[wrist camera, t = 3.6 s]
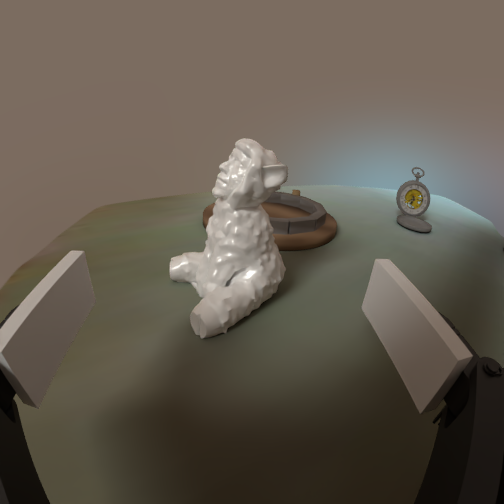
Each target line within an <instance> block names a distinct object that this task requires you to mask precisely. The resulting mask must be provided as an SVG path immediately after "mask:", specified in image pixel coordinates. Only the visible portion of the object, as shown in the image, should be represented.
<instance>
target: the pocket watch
mask: <svg viewBox="0 0 504 504" xmlns="http://www.w3.org/2000/svg"><path fill="white" fill-rule="evenodd" d="M414 169H421V168H418V167H415V168H413V169H412V173H413V174H414V172H413V170H414ZM421 170H422V169H421ZM422 171H423V170H422ZM414 175H415V177H416V181H414V180H412V181H408V182H405V183H404V184H403V185H402V186H401V187H400V188H399V190H398V192H397V198H396V199H397V204H398V207H399V209H400V210H401V211H402V212H403V213H404V214H405V215H399V216H397V221H398V223H399V224H401V225H402V226H404V227H406V228H408V229H411V230H414V231H418V232H430V231H431V229H432V226H431V225H430V224H429V223H427V222H425V221H423V220H421V219H418V218H416V217H417V216H420V215H422V214H423V213H424V212H425V211H426V210H427V208H428V207H429V204H430V194H429V191H428V189H427V188H426V186H425V185H424V184H422V183H421V182H419V181H418V180H419V178H421V177H422V176H424V171H423V175H421V176H420V175H419V172H418V173H417V174H414ZM419 195H421V197H418V196H419ZM418 198H419V199H420V198H421V199H422V200H418ZM405 199H406V200H407V201H405ZM411 200H413V201H411ZM418 201H421V203H420V204H418V203H417V202H418ZM408 202H410V203H409V204H411V205H412V206H414V207H415V208H412V206H411V208H410V207H408ZM405 203H407V205H406V204H405Z"/></svg>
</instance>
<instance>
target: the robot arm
mask: <svg viewBox="0 0 504 504" xmlns="http://www.w3.org/2000/svg"><path fill="white" fill-rule="evenodd" d="M95 303H96V300H95V296H94V292H93V288H92V284H91V280H90V275H89V271H88V266H87V262H86V257H85V252H84V251H70V252H69V253H68V254H67V255H66V256H65V257H64V258H63V259H62V260H61V261H60V262H59V263H58V264H57V265H56V266H55V267H54V268H53V269H52V270H51V271H50V272H49V273H48V274H47V275H46V276H45V278H44V279H43V280H42V281H41V282H40V283H39V284H38V285H37V286H36V287H35V288H34V289H33V291H32V292H31V293H30V294H29V295H28V296H27V297H26V298H25V300H24V301H23V302H22V303H21V304H20V305H18V306H17V307H15V308H14V309H13V310H11V312H10V313H9V314H8V315H7V316H6V318H5V320H3V321H2V322H1V324H0V504H50V502H49V500H48V498H47V496H46V494H45V491H44V489H43V487H42V484H41V482H40V479H39V477H38V474H37V472H36V469H35V466H34V464H33V461H32V458H31V455H30V452H29V449H28V446H27V442H26V439H25V436H24V432H23V428H22V425H21V421H20V417H19V412H18V408H17V404H16V402H15V401H14V399H13V398H14V396H15V394H17V395H18V396H19V398H20V399H21V400H22V402H23V403H24V404H27V405H30V406H32V407H35V408H37V409H39V407H40V405H41V402H42V400H43V398H44V396H45V394H46V392H47V390H48V387H49V385H50V383H51V381H52V379H53V377H54V375H55V373H56V371H57V369H58V368H59V366H60V364H61V362H62V360H63V358H64V356H65V354H66V353H67V351H68V349H69V347H70V345H71V343H72V342H73V340H74V338H75V336H76V335H77V333H78V331H79V329H80V328H81V326H82V324H83V323H84V321H85V319H86V318H87V316H88V314H89V313H90V311H91V309H92V308H93V306H94V305H95ZM362 310H363V312H364V313H365V315H366V317H367V318H368V320H369V322H370V323H371V325H372V327H373V328H374V330H375V332H376V334H377V335H378V337H379V339H380V340H381V342H382V344H383V346H384V347H385V349H386V351H387V353H388V355H389V356H390V358H391V360H392V362H393V364H394V365H395V367H396V369H397V371H398V373H399V375H400V376H401V378H402V380H403V382H404V384H405V386H406V388H407V390H408V391H409V393H410V395H411V397H412V399H413V401H414V403H415V405H416V407H417V409H418V411H419V413H420V414H422V413H425V412H428V411H431V410H434V409H436V407H437V406H438V405H439V404H440V402H441V401H442V400H443V399H444V400H445V402H446V406H445V407H444V408H443V409H442V411H441V412H440V413H439V414H438V415H437V416H436V418H435V419H434V421H433V423H434V424H435V423H436V422H437V421H438V419H439V418H441V420H440V423H439V424H438V425H439V429H438V433H437V437H436V440H435V444H434V448H433V451H432V455H431V458H430V461H429V465H428V468H427V471H426V474H425V477H424V479H423V482H422V485H421V488H420V490H419V493H418V495H417V498H416V500H415V503H414V504H504V368H502V367H501V366H500V364H499V363H497V362H496V361H495V360H493V359H491V358H488V357H482V358H479V356H478V355H477V354H476V352H475V351H474V350H473V349H472V347H471V346H470V345H469V344H468V342H467V341H466V340H465V339H464V337H463V336H462V335H460V332H459V331H458V330H457V329H455V326H454V325H453V324H452V323H451V322H450V320H449V319H448V318H446V317H445V316H443V315H442V314H441V313H439V312H437V311H436V310H435V308H434V307H433V306H432V305H431V304H430V303H429V302H428V300H427V299H426V298H425V297H424V296H423V295H422V294H421V293H420V292H419V290H418V289H417V288H416V287H415V286H414V285H413V284H412V283H411V282H410V281H409V280H408V278H407V277H406V276H405V275H404V274H403V273H402V272H401V271H400V270H399V269H398V268H397V267H396V266H395V265H394V264H393V263H392V262H391V261H390V260H389V259H375V263H374V267H373V270H372V274H371V278H370V281H369V285H368V288H367V291H366V295H365V298H364V301H363V305H362Z"/></svg>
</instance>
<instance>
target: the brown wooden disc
mask: <svg viewBox="0 0 504 504" xmlns="http://www.w3.org/2000/svg"><path fill="white" fill-rule="evenodd" d="M214 206H215V203H213V204H211V205H209V206H208V207H206V209H205V210H204V212H203V225H204V227H205V229H206V227H207V224H208V221H209V218H210V217H211V216H213V208H214ZM261 206H262V208H263V209H264V210H265V211H266V213H267V214H268V215H269V220H270V223H271V226H272V227H273V229H274V231H273V234H272V235H273V237H274V238H275V240H274V243H275V244H276V245H277V246H278V249H279V251H293V250H304V249H311V248H315V247H319V246H322V245H325V244H327V243H328V242H330V241H331V240H332V239H333V238H334V236H335V233H336V227H337V223H336V221H335V219H334V218H333V217H332V216H331V215H330V214H328V213H327V212H326V210H325V209H324V207H323V206H322V205H321V204H320V203H318V202H315V201H313V200H311V199H308V198H306V197H302V196H300V191H299V190H293V192H292V194H289V193H284V192H283V193H282V192H273V193H272V194H271V196H270V197H269V198H268V199H267V200H265V201H264V202H263V203H261Z"/></svg>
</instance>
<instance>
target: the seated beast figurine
mask: <svg viewBox="0 0 504 504" xmlns="http://www.w3.org/2000/svg"><path fill="white" fill-rule="evenodd" d="M235 146H236V148H235V149H233V152H232V153H231V155H230V156H229V161H226V162H224V163H222V164H221V165H220V166H219V169H220V170H221V172H220V173H219V174H218V179H217V180H216V185H215V187H214V188H213V190H212V194H213V196H215V198H216V197H217V198H218V199H217V200H216V202H215V206H214V208H213V216H211V217H210V218H209V221H208V224H207V227H206V232H207V234H208V239H207V240H206V242H205V243H206V248H205V250H204V252H200V253H197V252H189V253H183V254H182V255H180V256H177V257H173V258H171V261H170V278H171V280H173V281H177V282H178V283H191V284H192V285H193V286H194V287H195V289H196V290H197V293H199V296H200V297H203V299H202V300H201V301H200V303H199V304H198V305H197V306H195V308H194V309H193V311H192V312H191V314H190V322H191V325H192V328H193V330H194V332H195V334H196V335H200V338H209V337H213V336H215V335H217V334H220V333H223V332H224V333H225V334H226V333H227V329H228V328H229V327H231V326H233V325H234V324H235V323H236V322H238V321H239V320H241V319H242V318H243V317H245V316H249V314H250V313H251V311H252V310H254V309H257V308H259V307H260V304H261V303H263V302H264V301H266V300H267V299H269V298H271V297H272V294H273V293H276V292H277V289H278V285H279V283H280V282H281V281H282V279H283V277H284V273H285V270H286V268H285V266H284V263H283V261H282V256H281V255H280V253H279V249H278V246H277V245H276V244H275V243H274V240H275V238H274V237H273V235H272V234H273V231H274V229H273V227H272V226H271V223H270V220H269V215H268V214H267V213H266V211H265V210H264V209H263V208H262V206H261V203H263V202H264V201H265V200H267V199H268V198H269V197H270V196H271V194H272V193H273V192H275V191H277V190H279V189H280V186H281V185H282V184H283V183H285V182H286V181H287V177H288V176H287V175H288V168H287V166H286V165H282V164H281V163H280V162H277V157H276V155H275V154H274V152H273V151H271V150H265V149H264V148H263V147H262V146H261V145H260V144H259V143H258V142H256V141H254V140H252V139H245V138H243V139H240V140H238V141H237V142H236V144H235Z"/></svg>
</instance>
